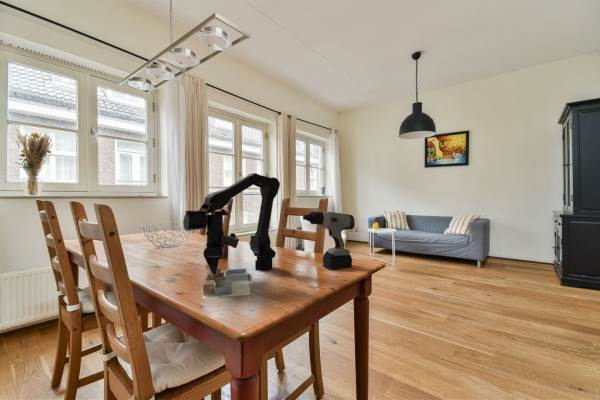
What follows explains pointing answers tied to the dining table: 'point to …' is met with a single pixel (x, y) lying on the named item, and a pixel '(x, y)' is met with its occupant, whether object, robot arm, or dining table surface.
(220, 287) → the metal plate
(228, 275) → the parts tray
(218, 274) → the oak dowel
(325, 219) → the cordless drill
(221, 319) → the dining table surface
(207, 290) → the bench dog
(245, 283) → the bench board
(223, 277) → the dowel socket
